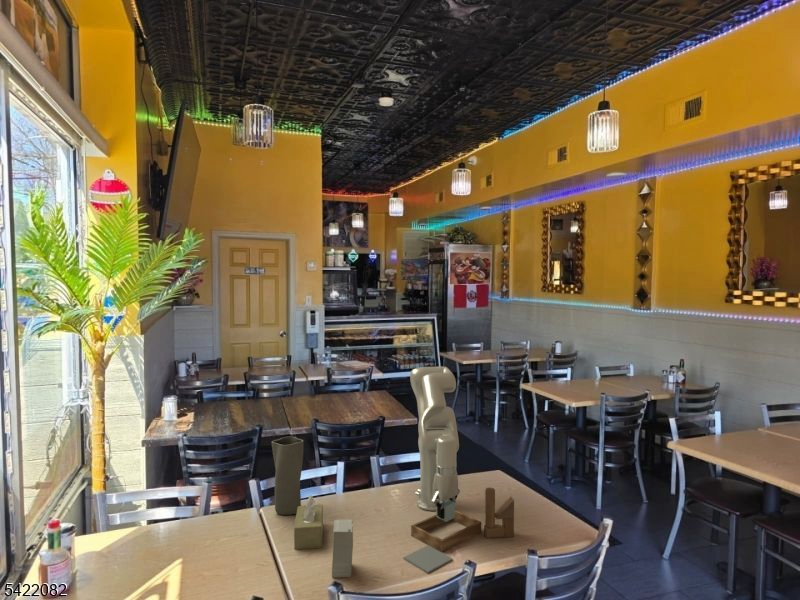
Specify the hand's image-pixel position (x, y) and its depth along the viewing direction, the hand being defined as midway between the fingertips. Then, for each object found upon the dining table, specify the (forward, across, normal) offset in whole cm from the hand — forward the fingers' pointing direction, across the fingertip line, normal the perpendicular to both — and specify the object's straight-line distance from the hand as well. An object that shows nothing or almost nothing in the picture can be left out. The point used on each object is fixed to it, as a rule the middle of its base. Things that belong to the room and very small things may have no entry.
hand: (445, 514), depth 195 cm
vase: (+9, +36, -57) cm, 68 cm away
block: (+1, 0, 0) cm, 1 cm away
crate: (+7, +1, +1) cm, 7 cm away
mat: (+6, +19, +9) cm, 22 cm away
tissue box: (+8, +40, -33) cm, 53 cm away
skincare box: (+6, +45, -5) cm, 45 cm away
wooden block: (+7, -13, +15) cm, 21 cm away
